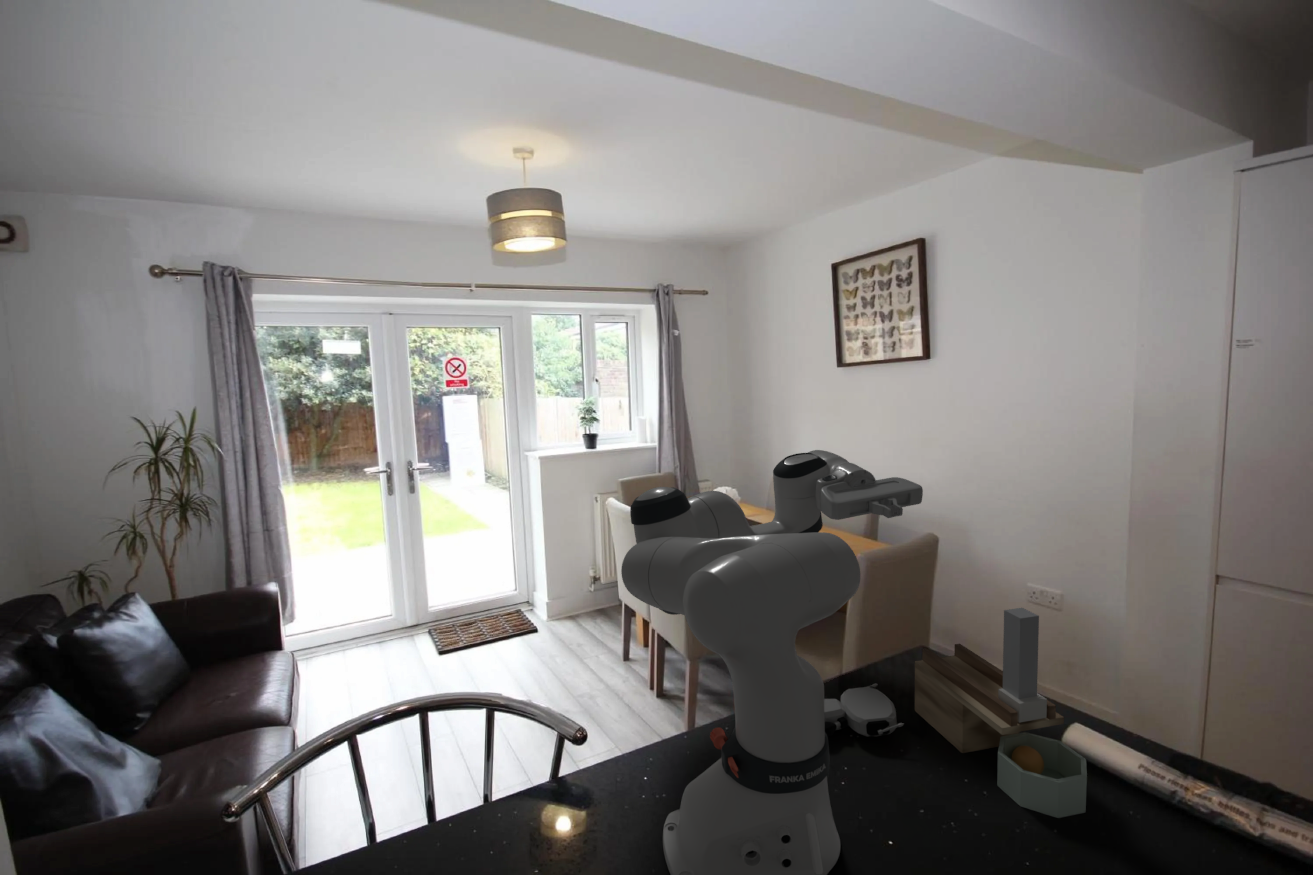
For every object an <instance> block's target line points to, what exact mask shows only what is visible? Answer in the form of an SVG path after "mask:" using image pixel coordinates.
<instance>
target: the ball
mask: <svg viewBox="0 0 1313 875" xmlns="http://www.w3.org/2000/svg"><path fill="white" fill-rule="evenodd" d="M1011 758H1012V761H1013V762H1015V763H1016V764H1017V765H1018V766H1020V767H1021V768H1022V769H1023V770H1026V771H1029V772H1033V773H1036V774H1041V773H1042V772H1043V770H1044V761H1043V758H1042V756H1041V755H1040V753H1039V752H1038V751H1036V750H1035V749H1034V748H1032V747H1029V746H1019V747H1017V748H1015V749H1014V751H1013V752H1012V757H1011Z"/></svg>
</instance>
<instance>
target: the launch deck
mask: <svg viewBox="0 0 1313 875" xmlns="http://www.w3.org/2000/svg"><path fill="white" fill-rule="evenodd" d="M921 650H922V654H921V657H922V658H921V660H915V661H914V712H915V713H917V714H918V716H920V717H921V718H922V719H924V720H925V722H927V723H928V724H929V725H930V726H931V727H933V728H934V729H935V731H937V732H938V733H939V734H940V735H942V736H943V738H944V739H945V740H947V741H948V742H949V743H950V744H951V745H953V747H954V748H956V749H957V750H958V751H959V752H960V753H961V754H966V753H971V752H977V751H982V750H988V749H993V748H999V743H1000V738H1001V737H1002V736H1007V735H1013V734H1018V733H1022V732H1026V731H1027V732H1028V731H1030V730H1037V729H1043V728H1048V727H1054V726H1059V725H1064V723H1065V717H1064V716H1063V715H1061V714H1060V713H1058V712H1057V711H1056V710H1057V709H1056V708H1057V705H1056V704H1054V703H1053V702H1051V701H1050V700H1048V699H1047V716H1046V718H1043V719H1037V720H1031V721H1026V722H1020V723H1019V722H1018V721H1017V716H1018V712H1017V711H1015V710H1014V709H1013V708H1011V707H1010V706H1008V705H1007V704H1006V703H1004V702H1003V701H1001V700H1000V699H998V689H1002V688H1003V669H1000V668H998V667H997V666H995V665H994V664H992V663H991V662H989V661H987V660H986V659H984V657H982V656H980V655H978V654H977V653H975V652H974V651H972V650H971V649H969V648H968V647H966V646H964V645H963V644H961V643H956V644H954V655H948V656H941V657H940V656H939V655H938V654H937V653H935V652H933V651H932V650H931V649H929V648H922V649H921Z"/></svg>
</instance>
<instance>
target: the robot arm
mask: <svg viewBox="0 0 1313 875" xmlns="http://www.w3.org/2000/svg"><path fill="white" fill-rule="evenodd" d="M772 475H773V476H772V478H773V481H772V482H773V492H774V494H773V495H774V508H775V512H774V515H773V519H772V520H771V521H769V522H765V523H764V522H763V523H761V524H756V525H750V523H749V522H748V519H747V517H746V514H745V513H744V510H743V508H742V507H741V506H740V505H739V503H738V502H737V501H736V500H735V499H734V498H732V497H731V496H730V495H728V494H726V493H724V492H723V491H720V490H719V491H718V490H708V491H704V492H703V491H702V492H699V493H698V494H695V495H692V496H691V497H687V496H686V494H685V493H684V492H683V491H682V490H681V489H679V488H677V487H673V486H672V487H671V486H670V487H668V486H657V487H653V488H651V489H647V490H646V491H644V492H643V493H641V494H640V495H639V496H637V497H635V499H634V500H633V501H632V503H631V505H630V507H629V508H630V522H631V523H630V524H631V525H633V529H634V537H635V543H636V544H634V545H632V547H631V548H630V549H628V551H627V552H626V553H625V555H624V558H623V559H622V563H621V579H622V582H623V585H624V587H625V589H626V590H627V591H628V593H629V594H631V595H632V596H633V597H634V598H636V599H637V600H639V601H641V602H642V603H644V604H647V605H649V606H650V607H653V608H656V609H659V610H661V612H663V613H665V614H667V615H674V616H675V615H681V616H682V615H683V616H685V620H686V624H687V625H688V628H689V630H690V631H691V634H692V635H693V636H694V637H695V639H696V640H697V641H698V642H699V643H700V644H701V645H702V646H703V647H705V648H706V649H707V650H709V651H711V652H713V653H714V654H717V655H718V656H719V657H721V658H722V660H723V661H724V663H725V665H726V667H727V670H728V671H729V675H730V677H731V678H730V680H731V682H732V690H733V691H732V692H733V701H734V702H733V704H734V717H735V718H734V719H735V720H734V722H735V726H734V728H733V730H732V733H731V735H729V737H728V736H727V735H726V732H725V730H724V729H723V728H722V727H715V728H713V729H712V730H711V731H710V733H709V734H710V735H709V738H710V740H711V741H712V744H713V746H714V747H715V749H717V750H720V751H721V756H720V758H719V759H718V760H716V762H714V763H713V764H711V766H709V767H708V768H706V770H704V771H703V772H702V773H700V774H699V775H698V776H696V778H694V779H693V780H691V781H690V782H689V783H688V784H687V785H686V786H685V788H684V791H683V793H682V795H681V796H682V797H681V802H680V806H679V809H676V810H674V811H671V812H669V813H668V815H667V816H666V819H665V821H664V824H663V831H662V848H663V855H664V859H665V863H666V865H667V869H668V872H669V874H670V875H828V874H829V872H830V871H831V870H832V869H833V868H834V866H835V865H836V864H837V862H838V859H839V857H840V855H841V854H840V853H841V839H840V835H839V833H838V830H837V827H836V823H835V819H834V816H833V810H832V807H831V800H830V799H831V798H830V795H829V794H830V793H829V786H828V785H829V784H828V778H829V775H830V761H831V759H830V747H829V746H830V745H829V737H827V734H826V733H825V712H824V699H825V685H824V681H823V678H822V676H821V674H820V673H819V672H818V670H817V669H816V668H815V667H814V665H812V664H811V662H809V661H807V659H805V658H804V657H802V656H799V655H798V653H797V650H796V638H797V634H798V633H799V630H801V629H803V628H805V627H808V626H810V625H812V624H814V623H816V622H819V621H821V620H824V619H825V618H828V617H830V616H832V615H834V614H835V613H836V612H837V611H838V610H840V609H841V608H842V607H843V606H845V604H847V603H848V602H849V601H850V600H851V599H852V598H853V597H854V596H855V594H856V593H857V591H858V589H859V587H860V583H861V568H860V564H859V560H858V557H857V556H856V554H855V552H854V550H853V549H852V547H851V546H850V545H849V544H848V542H846V541H845V540H844V539H843V538H841V537H839V536H838V535H836V534H833V533H830V532H823V531H822V532H820V531H821V530H822V529H823V525H824V524H823V523H824V522H823V517H822V514H824V516H826V517H827V518H829V519H831V520H835V521H836V520H837V521H840V520H844V519H850V518H854V517H860V516H865V515H870V514H873V515H877V516H883V517H885V518H886V519H892V518H896V517H901V516H903V514H904V513H903V512H904V511H903V510H904V509H903V508H906V507H910V506H911V507H912V506H916V505H920V504H922V501H923V495H924V494H923V492H924V489H923V486H922V485H921V484H918V483H917V482H914V481H911V480H908V479H906V478H902V477H897V476H894V477H887V478H882V479H881V478H880V479H876V477H875V476H874V474H872V473H871V471H868V470H866V469H865V468H863V467H861V466H859V465H858V464H855V463H853V462H850V461H848V460H847V459H846V458H844V457H842V456H840V455H838V454H836V453H833V452H831V451H827V450H820V449H815V450H810V451H807V452H799V453H794V454H791V455H788V456H786V457H784V458H783V459H782V460H781V461H779V462H778V463H777V464H776V465H775V467H774V468H773V469H772Z"/></svg>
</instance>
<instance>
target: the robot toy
mask: <svg viewBox="0 0 1313 875" xmlns="http://www.w3.org/2000/svg"><path fill="white" fill-rule="evenodd" d="M875 687H878V683H873V684H872V685H871V684H870V685H867V686H864V687H855V688H848V689H846V690H845V691H843V693H842V694H841V695H840V700H838V699H837V698H824V712H825V733H826V734H827V737H828V738H829V737H831V736H833V735H834V734H835V732H836V731H838V730H842V729H845V728H848V727H850V728H851V730H853V731H854V732H856V733H857V734H859V735H862V736H864V737H881V736H887V735H890V734H891V733H893V732H894V731H895V730H896V729H897V728H901V727H903V726H904V725H905V723H902V722H899V723H898V722H897V712H896V711H897V709H896V708H895V704H894V702H893V701H891V700H890V698H889V697H888V696H886V694H884V693H883V692H882V691H880V690H879V689H878V688H877V689H876V688H875Z"/></svg>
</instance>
